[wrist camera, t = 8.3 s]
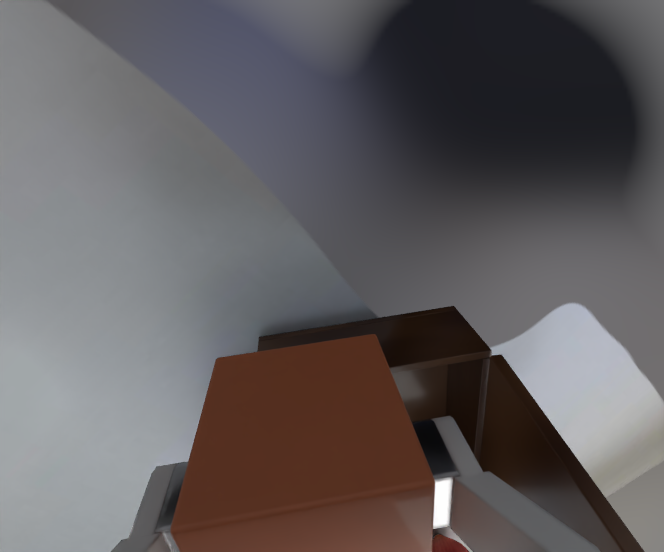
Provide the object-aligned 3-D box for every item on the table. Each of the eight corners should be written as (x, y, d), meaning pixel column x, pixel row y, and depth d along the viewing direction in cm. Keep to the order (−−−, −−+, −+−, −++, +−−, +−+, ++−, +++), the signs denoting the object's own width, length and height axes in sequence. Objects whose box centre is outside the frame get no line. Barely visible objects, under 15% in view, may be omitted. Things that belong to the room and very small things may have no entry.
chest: (289, 462, 35) (290, 528, 30) (258, 336, 29) (252, 390, 23) (448, 434, 36) (477, 492, 31) (453, 305, 30) (492, 350, 24)
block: (247, 465, 12) (229, 652, 8) (215, 356, 10) (166, 532, 6) (381, 441, 12) (430, 611, 8) (375, 332, 10) (437, 482, 6)
